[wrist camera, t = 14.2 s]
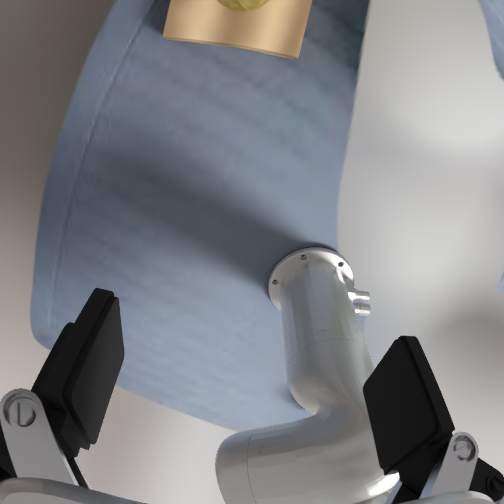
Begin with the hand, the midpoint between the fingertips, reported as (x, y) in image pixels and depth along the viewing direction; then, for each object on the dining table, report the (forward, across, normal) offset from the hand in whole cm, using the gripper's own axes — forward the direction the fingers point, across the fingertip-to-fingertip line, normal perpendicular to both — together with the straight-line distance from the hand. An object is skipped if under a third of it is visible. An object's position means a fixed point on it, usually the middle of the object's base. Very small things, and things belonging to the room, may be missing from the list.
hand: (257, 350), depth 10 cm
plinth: (+30, +5, -18) cm, 36 cm away
